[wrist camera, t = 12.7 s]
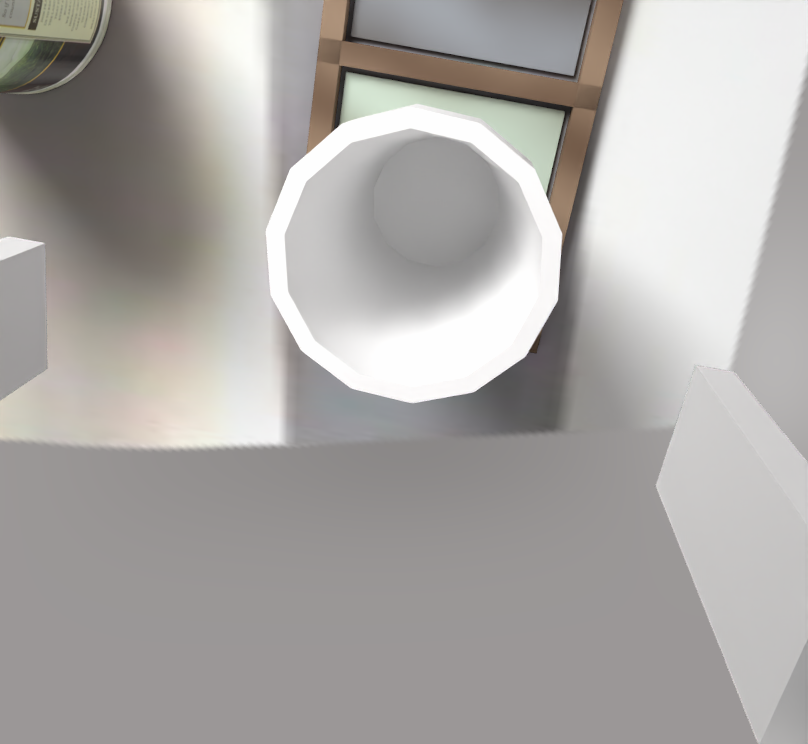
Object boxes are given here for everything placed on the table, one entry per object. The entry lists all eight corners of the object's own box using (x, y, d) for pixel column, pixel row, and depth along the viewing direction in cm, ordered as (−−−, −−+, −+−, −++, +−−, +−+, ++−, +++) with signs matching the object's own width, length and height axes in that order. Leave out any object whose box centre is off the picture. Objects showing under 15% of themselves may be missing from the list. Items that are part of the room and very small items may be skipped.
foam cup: (478, 329, 38) (473, 446, 26) (309, 247, 38) (226, 329, 26) (574, 151, 35) (619, 193, 23) (390, 58, 34) (337, 50, 22)
